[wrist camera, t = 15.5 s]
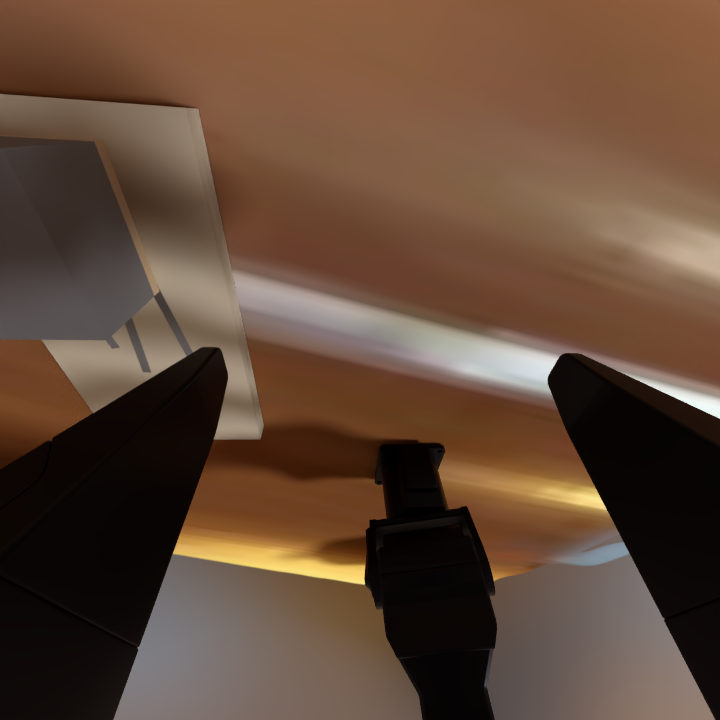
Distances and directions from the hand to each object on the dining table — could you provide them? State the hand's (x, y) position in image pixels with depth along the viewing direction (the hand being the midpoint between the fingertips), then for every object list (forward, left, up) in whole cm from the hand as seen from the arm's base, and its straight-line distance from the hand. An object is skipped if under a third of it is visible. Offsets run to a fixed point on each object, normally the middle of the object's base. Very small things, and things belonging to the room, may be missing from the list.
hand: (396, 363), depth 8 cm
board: (-6, +14, -12) cm, 19 cm away
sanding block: (0, +14, -10) cm, 18 cm away
